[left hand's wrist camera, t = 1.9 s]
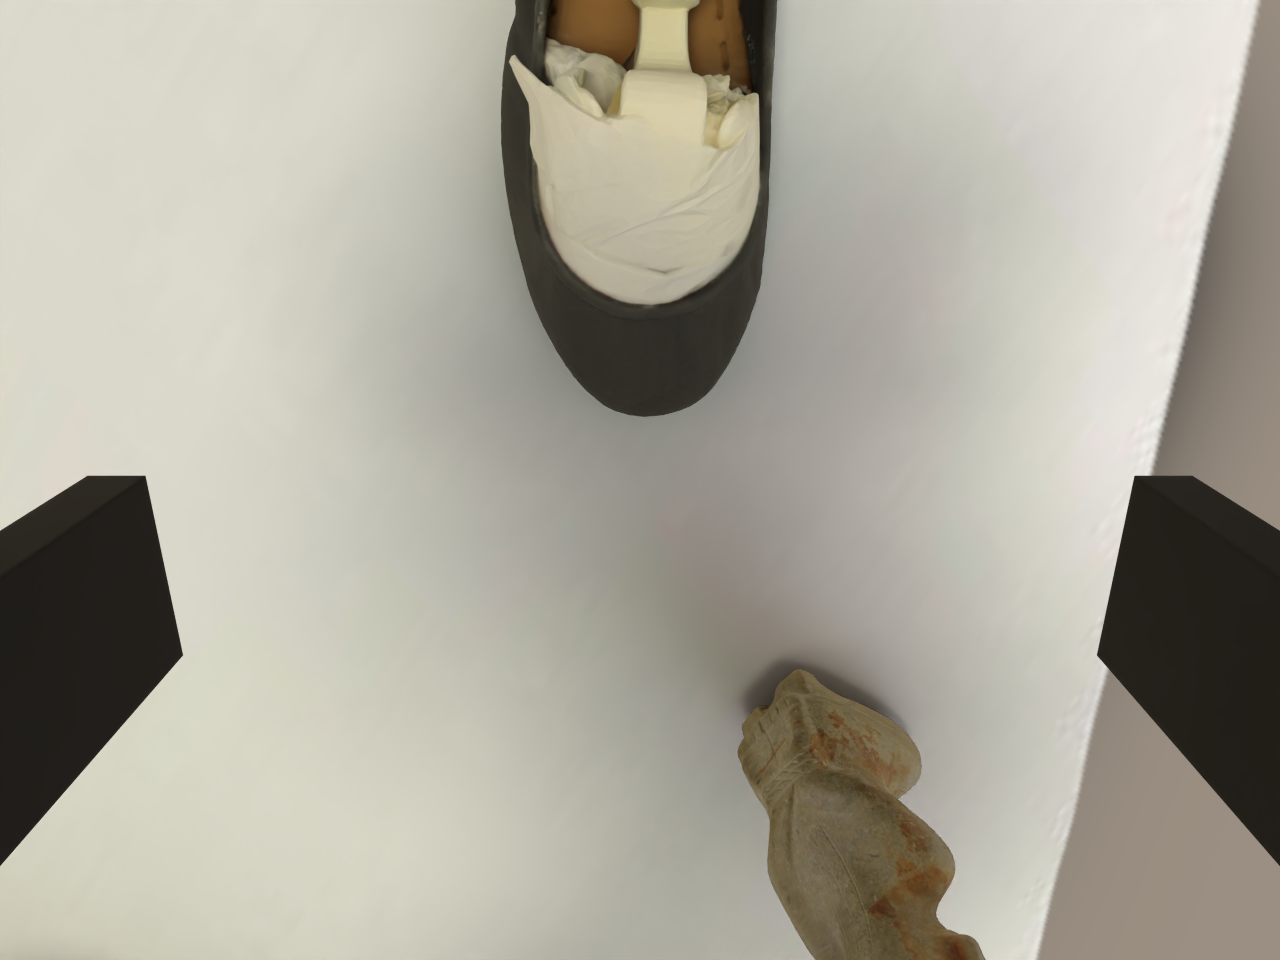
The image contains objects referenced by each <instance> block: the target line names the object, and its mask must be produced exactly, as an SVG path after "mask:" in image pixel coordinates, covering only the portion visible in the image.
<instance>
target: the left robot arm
mask: <svg viewBox="0 0 1280 960" xmlns="http://www.w3.org/2000/svg"><path fill="white" fill-rule="evenodd" d="M182 656H183V653H182V648H181V643H180V639H179V634H178V629H177V624H176V619H175V615H174V610H173V605H172V600H171V596H170V591H169V586H168V581H167V577H166V572H165V567H164V562H163V557H162V553H161V548H160V543H159V538H158V534H157V529H156V524H155V519H154V515H153V510H152V505H151V500H150V495H149V491H148V486H147V481H146V476H87V477H85V478H83V479H82V480H80V481H79V482H77V483H75V484H74V485H72V486H71V487H69V488H68V489H66V490H64V491H63V492H61V493H60V494H58V495H56V496H55V497H53V498H52V499H50V500H48V501H47V502H45V503H44V504H42V505H40V506H39V507H37V508H36V509H34V510H33V511H31V512H29V513H28V514H26V515H25V516H23V517H21V518H20V519H18V520H17V521H15V522H13V523H12V524H10V525H9V526H7V527H5V528H4V529H2V530H1V531H0V866H1V864H2V863H3V862H4V861H5V860H6V859H7V858H8V856H9V855H10V854H11V853H12V852H13V851H14V849H15V848H16V847H17V846H18V845H19V844H20V843H21V841H22V840H23V839H24V838H25V837H26V836H27V834H28V833H29V832H30V831H31V830H32V829H33V828H34V826H35V825H36V824H37V823H38V822H39V821H40V819H41V818H42V817H43V816H44V815H45V814H46V813H47V811H48V810H49V809H50V808H51V807H52V806H53V805H54V803H55V802H56V801H57V800H58V799H59V798H60V796H61V795H62V794H63V793H64V792H65V791H66V790H67V788H68V787H69V786H70V785H71V784H72V783H73V781H74V780H75V779H76V778H77V777H78V776H79V775H80V773H81V772H82V771H83V770H84V769H85V768H86V766H87V765H88V764H89V763H90V762H91V761H92V760H93V758H94V757H95V756H96V755H97V754H98V753H99V751H100V750H101V749H102V748H103V747H104V746H105V745H106V743H107V742H108V741H109V740H110V739H111V738H112V736H113V735H114V734H115V733H116V732H117V731H118V730H119V728H120V727H121V726H122V725H123V724H124V723H125V722H126V720H127V719H128V718H129V717H130V716H131V715H132V713H133V712H134V711H135V710H136V709H137V708H138V707H139V705H140V704H141V703H142V702H143V701H144V700H145V698H146V697H147V696H148V695H149V694H150V693H151V692H152V690H153V689H154V688H155V687H156V686H157V685H158V683H159V682H160V681H161V680H162V679H163V678H164V677H165V675H166V674H167V673H168V672H169V671H170V670H171V668H172V667H173V666H174V665H175V664H176V663H177V662H178V660H179V659H180V658H181V657H182ZM1097 656H1098V657H1099V658H1100V659H1101V660H1102V662H1103V663H1104V664H1105V665H1106V666H1107V667H1108V668H1109V670H1110V671H1111V672H1112V673H1113V674H1114V675H1115V677H1116V678H1117V679H1118V680H1119V681H1120V682H1121V683H1122V685H1123V686H1124V687H1125V688H1126V689H1127V690H1128V692H1129V693H1130V694H1131V695H1132V696H1133V697H1134V698H1135V700H1136V701H1137V702H1138V703H1139V704H1140V705H1141V706H1142V708H1143V709H1144V710H1145V711H1146V712H1147V713H1148V715H1149V716H1150V717H1151V718H1152V719H1153V720H1154V722H1155V723H1156V724H1157V725H1158V726H1159V727H1160V728H1161V730H1162V731H1163V732H1164V733H1165V734H1166V735H1167V736H1168V738H1169V739H1170V740H1171V741H1172V742H1173V743H1174V745H1175V746H1176V747H1177V748H1178V749H1179V750H1180V751H1181V753H1182V754H1183V755H1184V756H1185V757H1186V758H1187V760H1188V761H1189V762H1190V763H1191V764H1192V765H1193V766H1194V768H1195V769H1196V770H1197V771H1198V772H1199V773H1200V775H1201V776H1202V777H1203V778H1204V779H1205V780H1206V781H1207V783H1208V784H1209V785H1210V786H1211V787H1212V788H1213V789H1214V791H1215V792H1216V793H1217V794H1218V795H1219V796H1220V798H1221V799H1222V800H1223V801H1224V802H1225V803H1226V805H1227V806H1228V807H1229V808H1230V809H1231V810H1232V811H1233V813H1234V814H1235V815H1236V816H1237V817H1238V818H1239V819H1240V821H1241V822H1242V823H1243V824H1244V825H1245V826H1246V828H1247V829H1248V830H1249V831H1250V832H1251V833H1252V834H1253V836H1254V837H1255V838H1256V839H1257V840H1258V841H1259V843H1260V844H1261V845H1262V846H1263V847H1264V848H1265V849H1266V851H1267V852H1268V853H1269V854H1270V855H1271V856H1272V858H1273V859H1274V860H1275V861H1276V862H1277V863H1278V864H1279V866H1280V531H1279V530H1278V529H1276V528H1274V527H1273V526H1271V525H1270V524H1268V523H1267V522H1265V521H1263V520H1262V519H1260V518H1259V517H1257V516H1255V515H1254V514H1252V513H1251V512H1249V511H1247V510H1246V509H1244V508H1243V507H1241V506H1239V505H1238V504H1236V503H1235V502H1233V501H1232V500H1230V499H1228V498H1227V497H1225V496H1224V495H1222V494H1220V493H1219V492H1217V491H1216V490H1214V489H1212V488H1211V487H1209V486H1208V485H1206V484H1205V483H1203V482H1201V481H1200V480H1198V479H1197V478H1195V477H1193V476H1134V481H1133V486H1132V491H1131V495H1130V500H1129V505H1128V510H1127V515H1126V519H1125V524H1124V529H1123V534H1122V538H1121V543H1120V548H1119V553H1118V557H1117V562H1116V567H1115V572H1114V577H1113V581H1112V586H1111V591H1110V596H1109V600H1108V605H1107V610H1106V615H1105V619H1104V624H1103V629H1102V634H1101V639H1100V643H1099V648H1098V653H1097Z"/></svg>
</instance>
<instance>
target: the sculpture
mask: <svg viewBox="0 0 1280 960" xmlns="http://www.w3.org/2000/svg"><path fill="white" fill-rule="evenodd" d="M742 730H743V734H744V737H745V738H744V739H743V741H742V742H741V744H740V746H739V748H738V757H739V759H740V762H741V764H742V769H743V771H744V773H745V775H746V777H747V779H748V781H749V783H750V785H751V787H752V789H753V791H754V792H755V794H756V796H757V797H758V799H759V800H760V802H761V803H762V805H763V806H764V808H765V809H766V811H767V814H768V816H769V819H770V834H769V846H768V860H767V861H768V873H769V877H770V880H771V883H772V885H773V887H774V890H775V891H776V893H777V895H778V897H779V899H780V901H781V903H782V905H783V907H784V909H785V910H786V912H787V914H788V916H789V918H790V920H791V921H792V923H793V925H794V927H795V929H796V930H797V932H798V934H799V935H800V937H801V939H802V940H803V942H804V944H805V946H806V947H807V949H808V950H809V952H810V953H811V955H812V956H813V957H814V959H815V960H985V958H984V956H983V954H982V951H981V949H980V947H979V944H978V943H977V941H976V940H975V939H974V938H972V937H970V936H968V935H962V934H958V933H956V932H954V931H951V930H947V929H946V928H945V927H944V926H943V925H942V924H941V923H940V922H939V921H938V919H937V917H936V910H937V907H938V904H939V902H940V900H941V899H942V897H943V895H944V894H945V892H946V891H947V889H948V887H949V886H950V884H951V882H952V879H953V877H954V874H955V862H954V858H953V855H952V853H951V851H950V850H949V848H948V846H947V845H946V844H945V843H944V842H943V840H942V839H941V838H940V837H939V836H938V835H937V833H936V832H935V831H934V830H933V829H932V828H930V827H929V826H928V825H927V824H926V823H925V822H924V821H923V820H922V819H920V818H919V817H918V816H917V815H915V814H914V813H913V812H912V811H910V810H909V809H908V808H907V807H906V806H905V805H904V804H902V803H901V802H900V801H899V800H898V798H900V797H901V796H902V795H903V794H905V793H906V792H907V791H909V790H910V789H911V788H912V787H913V786H914V785H915V784H916V782H917V781H918V780H919V777H920V773H921V759H920V753H919V751H918V749H917V747H916V745H915V743H914V742H913V740H912V739H911V738H910V737H909V735H908V734H907V733H906V732H905V731H904V730H903V729H902V728H901V727H899V726H898V725H897V724H896V723H894V722H893V721H892V720H890V719H889V718H887V717H885V716H883V715H881V714H879V713H878V712H876V711H874V710H872V709H870V708H868V707H866V706H864V705H862V704H860V703H857V702H855V701H852V700H850V699H847V698H844V697H842V696H840V695H838V694H836V693H834V692H832V691H830V690H829V689H827V688H826V687H825V686H823V685H822V684H820V683H819V682H818V681H817V679H816V677H815V676H814V675H813V674H811V673H809V672H807V671H805V670H801V669H797V670H794V671H793V672H792V673H790V674H789V675H788V676H787V677H786V678H785V679H784V680H783V681H781V682H780V683H779V684H778V686H777V687H776V689H775V696H774V700H773V702H772V704H771V706H770V707H769V706H765V705H761V706H758V707H756V708H755V709H754V710H753V711H752V712H751V714H750V715H749V716H748V718H747V719H746V720H745V722H744V723H743V725H742Z"/></svg>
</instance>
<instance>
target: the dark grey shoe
mask: <svg viewBox="0 0 1280 960" xmlns="http://www.w3.org/2000/svg"><path fill="white" fill-rule="evenodd" d="M515 4H516V15H515V18H514V21H513V24H512V27H511V29H510V33H509V37H508V42H507V47H506V56H505V63H504V71H503V83H502V87H503V89H502V101H501V144H502V157H503V164H504V176H505V184H506V192H507V197H508V203H509V209H510V216H511V220H512V224H513V229H514V235H515V239H516V244H517V247H518V251H519V255H520V259H521V262H522V266H523V270H524V273H525V277H526V282H527V286H528V289H529V292H530V295H531V298H532V301H533V303H534V306H535V309H536V311H537V313H538V315H539V318H540V320H541V322H542V324H543V327H544V328H545V330H546V332H547V334H548V336H549V338H550V339H551V341H552V343H553V345H554V347H555V349H556V350H557V352H558V354H559V355H560V357H561V358H562V360H563V362H564V363H565V365H566V366H567V368H568V369H569V370H570V371H571V373H572V375H573V376H574V377H575V378H576V379H577V381H578V382H579V383H580V384H581V385H582V386H583V387H584V389H585V390H587V391H588V392H589V393H590V394H591V395H592V396H594V397H595V398H596V399H597V400H598V401H600V402H601V403H602V404H603V405H605V406H607V407H608V408H610V409H612V410H614V411H617V412H621V413H624V414H628V415H634V416H642V417H646V416H658V415H665V414H669V413H672V412H676V411H680V410H682V409H684V408H687V407H689V406H691V405H693V404H694V403H696V402H697V401H699V400H700V399H701V398H703V397H704V396H705V395H706V394H707V393H708V392H709V391H710V390H711V389H712V388H713V386H714V385H715V384H716V382H717V381H718V379H719V378H720V376H721V375H722V374H723V372H724V370H725V369H726V367H727V366H728V364H729V362H730V360H731V358H732V356H733V355H734V353H735V351H736V348H737V346H738V345H739V343H740V340H741V338H742V336H743V334H744V331H745V329H746V327H747V323H748V321H749V319H750V316H751V312H752V310H753V307H754V304H755V301H756V297H757V294H758V291H759V289H760V280H761V275H762V262H763V256H764V246H765V237H766V228H767V216H768V203H769V169H770V149H771V97H772V77H773V60H774V49H775V29H776V11H777V0H515Z"/></svg>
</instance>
